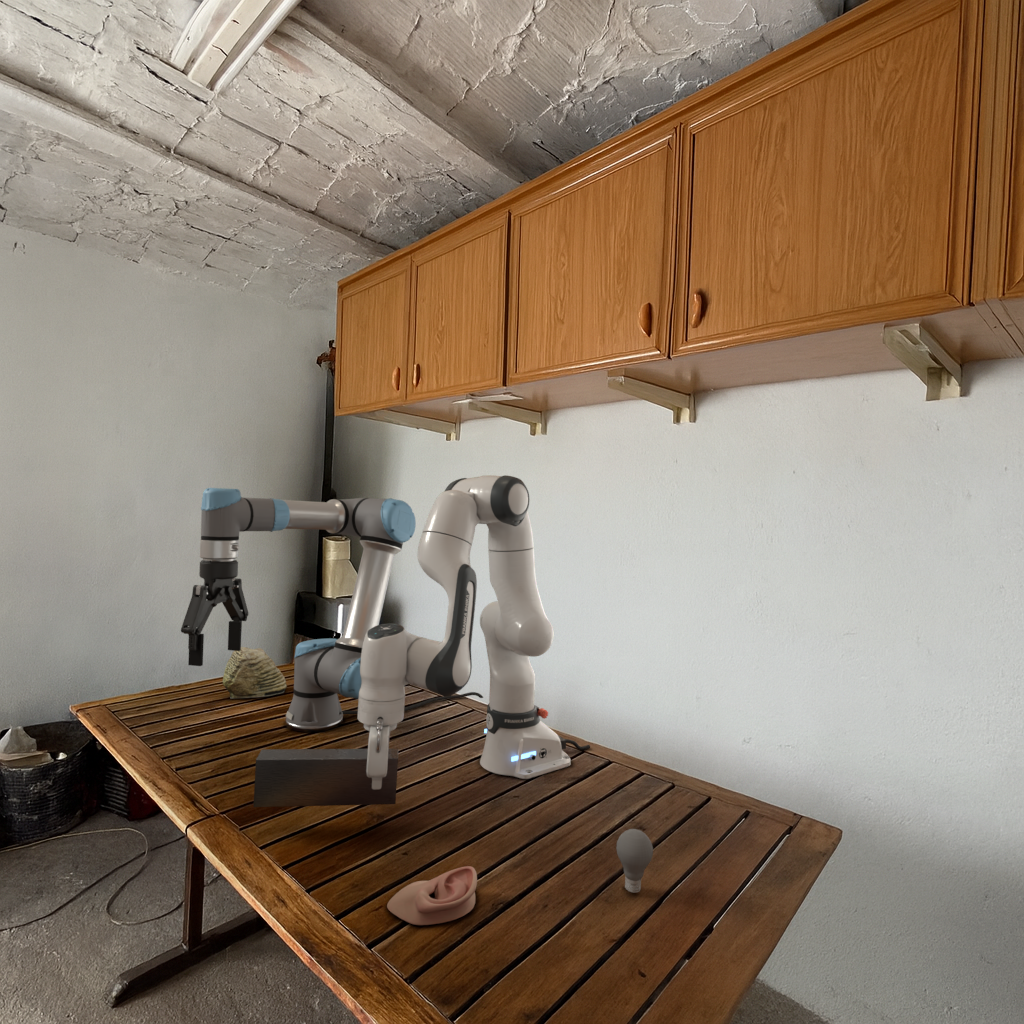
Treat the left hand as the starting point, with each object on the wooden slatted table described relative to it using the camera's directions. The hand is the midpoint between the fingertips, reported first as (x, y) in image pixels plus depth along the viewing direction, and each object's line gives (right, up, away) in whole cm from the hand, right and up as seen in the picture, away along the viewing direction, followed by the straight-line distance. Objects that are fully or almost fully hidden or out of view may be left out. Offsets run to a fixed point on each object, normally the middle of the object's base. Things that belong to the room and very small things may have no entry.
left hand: (215, 657), depth 137 cm
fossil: (-17, -26, +61) cm, 68 cm away
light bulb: (+84, -32, -31) cm, 95 cm away
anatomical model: (+52, -31, -37) cm, 70 cm away
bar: (+29, -24, -16) cm, 40 cm away
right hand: (+38, -21, -14) cm, 45 cm away
